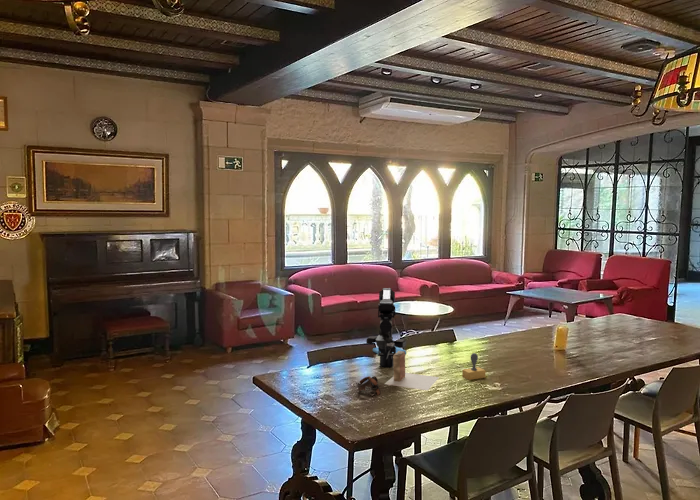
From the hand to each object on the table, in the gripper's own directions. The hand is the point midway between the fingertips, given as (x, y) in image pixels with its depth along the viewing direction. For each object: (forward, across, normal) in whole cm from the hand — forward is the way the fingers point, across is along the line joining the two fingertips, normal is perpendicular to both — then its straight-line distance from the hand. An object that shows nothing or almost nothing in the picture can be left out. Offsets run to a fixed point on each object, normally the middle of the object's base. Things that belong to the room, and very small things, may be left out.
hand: (386, 359), depth 256 cm
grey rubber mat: (+9, +14, 0) cm, 16 cm away
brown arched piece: (+10, 0, -22) cm, 24 cm away
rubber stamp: (+10, +39, +19) cm, 44 cm away
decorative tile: (+10, -14, +43) cm, 46 cm away
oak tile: (+9, +7, 0) cm, 11 cm away
